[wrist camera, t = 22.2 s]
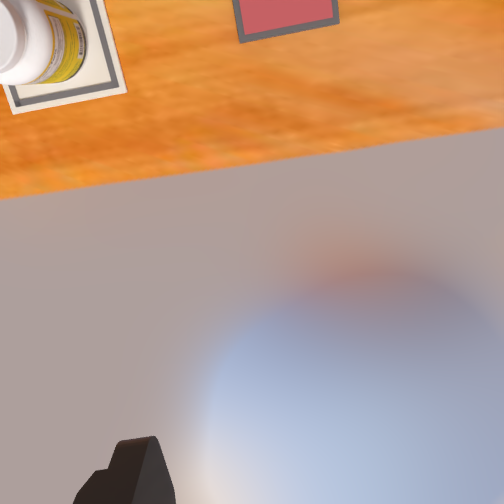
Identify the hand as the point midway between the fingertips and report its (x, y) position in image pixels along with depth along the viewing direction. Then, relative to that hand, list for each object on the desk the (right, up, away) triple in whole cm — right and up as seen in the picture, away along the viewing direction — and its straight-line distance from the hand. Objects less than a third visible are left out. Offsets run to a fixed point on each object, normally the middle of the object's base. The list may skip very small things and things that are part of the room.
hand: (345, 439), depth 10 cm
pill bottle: (-18, +21, +27) cm, 39 cm away
